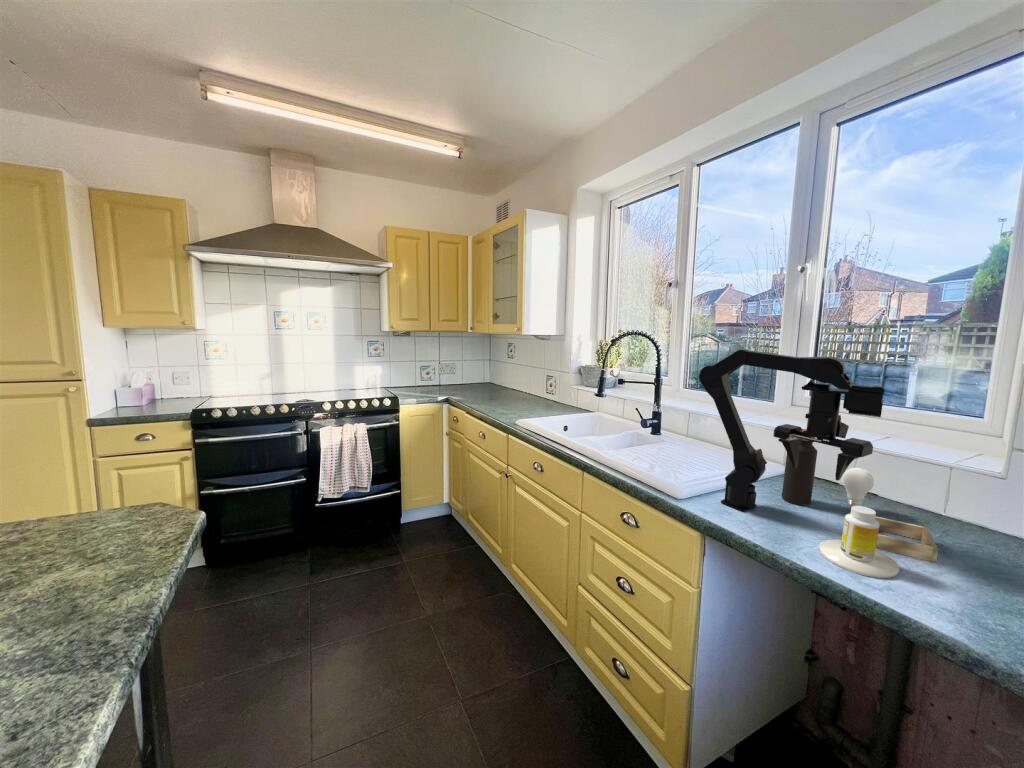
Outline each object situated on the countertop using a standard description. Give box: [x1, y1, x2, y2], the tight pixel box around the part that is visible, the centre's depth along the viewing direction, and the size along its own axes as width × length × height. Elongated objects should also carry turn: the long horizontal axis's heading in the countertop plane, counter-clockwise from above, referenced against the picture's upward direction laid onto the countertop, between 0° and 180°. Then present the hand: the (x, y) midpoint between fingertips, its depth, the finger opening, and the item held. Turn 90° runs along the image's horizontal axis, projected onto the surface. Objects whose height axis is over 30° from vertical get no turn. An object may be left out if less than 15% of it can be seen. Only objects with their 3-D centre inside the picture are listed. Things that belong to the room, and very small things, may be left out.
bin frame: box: [875, 515, 939, 564], centre depth 96 cm, size 12×12×3 cm
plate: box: [818, 539, 900, 579], centre depth 89 cm, size 13×13×1 cm
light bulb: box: [841, 467, 875, 508], centre depth 113 cm, size 7×7×11 cm
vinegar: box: [781, 428, 818, 506], centre depth 116 cm, size 7×7×20 cm
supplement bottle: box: [841, 505, 880, 562], centre depth 88 cm, size 6×6×10 cm
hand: (815, 473), depth 102 cm, fingers open, 9 cm apart
